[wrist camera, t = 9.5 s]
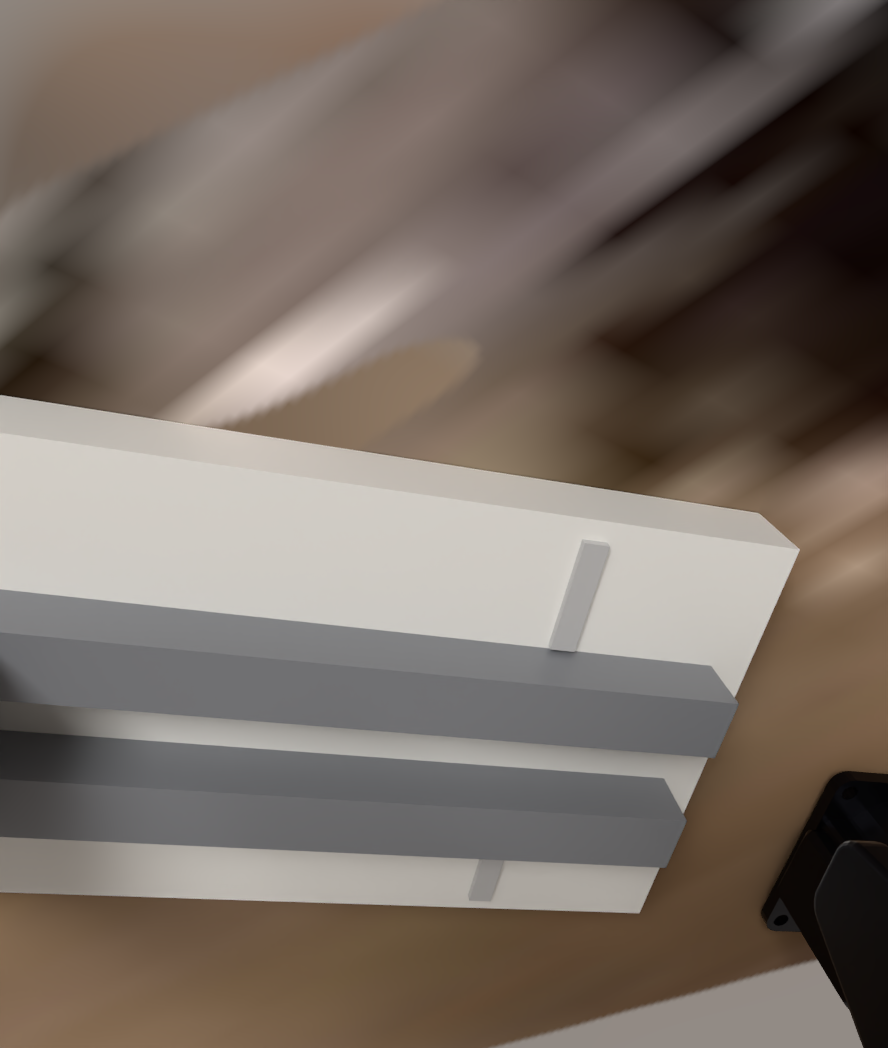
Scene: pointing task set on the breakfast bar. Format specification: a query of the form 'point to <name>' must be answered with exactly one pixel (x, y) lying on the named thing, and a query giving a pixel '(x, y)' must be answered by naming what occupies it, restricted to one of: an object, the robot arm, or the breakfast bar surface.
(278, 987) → the breakfast bar surface
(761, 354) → the breakfast bar surface
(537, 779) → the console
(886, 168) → the breakfast bar surface
